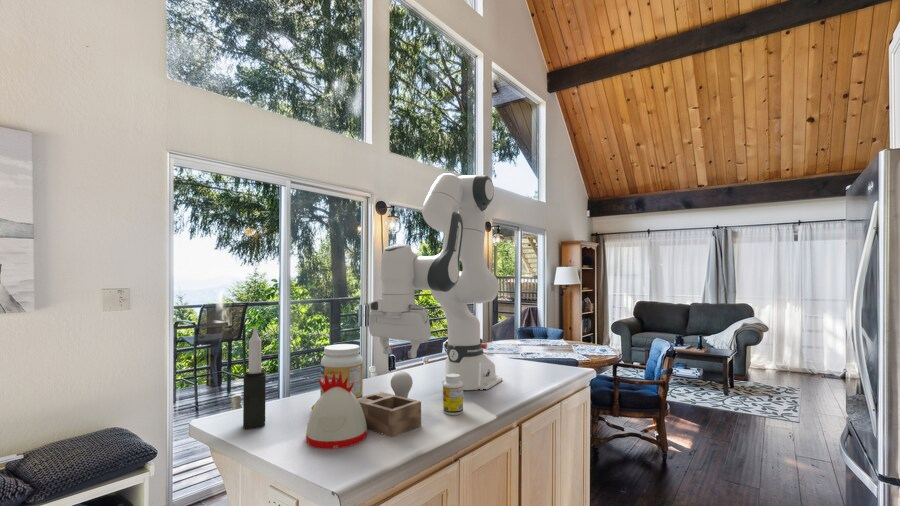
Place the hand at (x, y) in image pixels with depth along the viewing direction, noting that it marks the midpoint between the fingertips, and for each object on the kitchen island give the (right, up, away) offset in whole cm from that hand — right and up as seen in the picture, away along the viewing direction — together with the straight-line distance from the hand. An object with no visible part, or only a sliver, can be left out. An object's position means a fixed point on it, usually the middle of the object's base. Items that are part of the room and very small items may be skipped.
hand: (399, 355), depth 118 cm
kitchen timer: (-13, -16, -14) cm, 25 cm away
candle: (-37, -17, -6) cm, 41 cm away
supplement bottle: (+14, -17, +3) cm, 22 cm away
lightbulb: (0, -17, +4) cm, 17 cm away
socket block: (-3, -16, -6) cm, 18 cm away
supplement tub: (-18, -17, +12) cm, 28 cm away
